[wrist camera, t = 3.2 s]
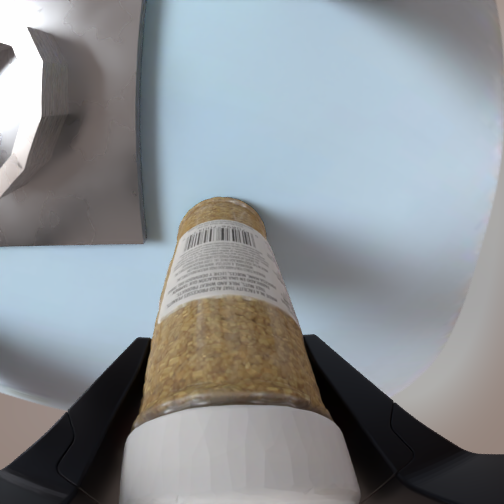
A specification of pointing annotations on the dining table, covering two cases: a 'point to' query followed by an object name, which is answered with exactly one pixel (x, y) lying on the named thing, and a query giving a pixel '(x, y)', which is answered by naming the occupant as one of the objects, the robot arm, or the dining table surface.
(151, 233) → the dining table surface
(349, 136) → the dining table surface
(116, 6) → the duct flange
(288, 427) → the sprinkles bottle
